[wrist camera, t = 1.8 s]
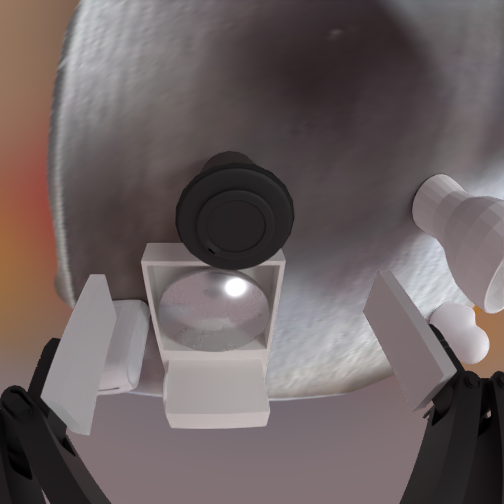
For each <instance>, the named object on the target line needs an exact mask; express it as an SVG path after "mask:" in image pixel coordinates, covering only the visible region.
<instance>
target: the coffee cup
mask: <svg viewBox="0 0 504 504" xmlns="http://www.w3.org/2000/svg"><path fill="white" fill-rule="evenodd" d="M293 222H294V208H293V200H292V198H291V196H290V194H289V192H288V190H287V188H286V186H285V185H284V184H283V183H282V182H281V181H280V180H279V179H278V178H277V177H276V176H275V175H274V174H273V173H272V172H270V171H268V170H265V169H263V168H261V167H259V166H257V165H256V164H254V163H253V162H252V161H251V160H250V159H249V158H248V157H247V156H245V155H243V154H241V153H239V152H231V151H228V152H223V153H219V154H217V155H216V156H214V157H212V158H211V159H210V160H209V161H208V162H207V163H206V165H205V166H204V168H203V170H202V171H201V173H200V174H199V175H197V176H195V178H194V179H193V180H192V181H191V182H190V183H189V184H188V185H187V186H186V188H185V189H184V190H183V192H182V194H181V196H180V199H179V201H178V204H177V206H176V227H177V231H178V234H179V237H180V240H181V241H182V243H183V244H184V245H185V247H186V248H187V249H188V251H189V252H190V253H191V254H192V255H194V256H195V257H197V258H198V259H199V260H201V261H202V262H204V263H206V264H208V265H210V266H212V267H216V268H219V269H225V270H242V269H247V268H251V267H255V266H257V265H259V264H262V263H263V262H265V261H267V260H269V259H270V258H271V257H272V256H274V255H275V254H276V253H277V252H278V251H279V250H280V249H281V248H282V247H283V245H284V243H285V242H286V240H287V239H288V237H289V235H290V234H291V230H292V226H293Z"/></svg>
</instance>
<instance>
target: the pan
mask: <svg viewBox="0 0 504 504" xmlns="http://www.w3.org/2000/svg"><path fill="white" fill-rule="evenodd" d="M158 313H159V320H160V323H161V325H162V327H163V329H164V330H165V332H166V333H167V334H168V335H169V336H170V337H171V338H172V339H174V340H175V341H176V342H178V343H180V344H182V345H183V346H186V347H188V348H191V349H194V350H199V351H205V352H223V351H229V350H234V349H237V348H240V347H242V346H245V345H247V344H248V343H250V342H252V341H253V340H254V339H256V338H257V337H258V336H259V335H260V334H261V333H262V332H263V330H264V329H265V327H266V325H267V323H268V319H269V306H268V301H267V297H266V294H265V292H264V290H263V289H262V287H261V286H260V285H259V284H258V283H257V282H256V281H255V280H254V279H253V278H251V277H250V276H248V275H246V274H245V273H243V272H240V271H238V270H225V269H219V268H216V267H212V266H209V267H200V268H195V269H192V270H189V271H186V272H184V273H182V274H180V275H179V276H177V277H176V278H174V279H173V280H172V281H171V282H170V283H169V284H168V285H167V286H166V288H165V289H164V291H163V293H162V295H161V299H160V304H159V312H158Z"/></svg>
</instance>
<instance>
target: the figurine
mask: <svg viewBox="0 0 504 504" xmlns="http://www.w3.org/2000/svg"><path fill="white" fill-rule="evenodd" d="M430 324H433V325H434V326H435V327H436V328H437V329H438V330H440V332H441V333H442V335H443V336H444V338H445V341H447V342H448V344H449V347H451V349H452V350H453V352H454V353H455V355H456V357H457V358H458V359H459V360H461V361H462V362H464V363H467V364H474V363H477V362H479V361H481V360H482V359H483V358H484V357H485V356H486V354H487V352H488V350H489V340H488V337H487V335H486V333H485V332H484V331H483V330H482V329H480V328H479V327H477V326H476V324H475V312H474V311H473V310H472V309H471V308H469V307H467V306H465V305H461V304H457V303H455V302H453V301H448V302H446V303H444V304H442V305H441V306H439V307H438V308H437V309H436V310H435V311H434V313H433V314H432V316H431V318H430Z"/></svg>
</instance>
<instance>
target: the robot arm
mask: <svg viewBox="0 0 504 504" xmlns="http://www.w3.org/2000/svg"><path fill="white" fill-rule="evenodd" d="M363 312H364V314H365V316H366V318H367V320H368V322H369V324H370V325H371V327H372V329H373V331H374V333H375V335H376V337H377V339H378V341H379V343H380V345H381V347H382V349H383V351H384V353H385V355H386V357H387V359H388V361H389V363H390V365H391V367H392V369H393V371H394V373H395V375H396V377H397V379H398V382H399V384H400V386H401V388H402V390H403V392H404V394H405V396H406V399H407V401H408V403H409V405H410V407H411V410H412V411H416V410H419V409H422V408H424V407H426V406H427V404H429V402H430V401H431V400H432V401H433V403H434V405H433V406H432V407H431V408H430V409H429V410H428V411H427V412H426V413H425V414H424V416H423V418H426V417H427V416H428V415H429V414H430V415H429V418H428V423H427V427H426V431H425V434H424V437H423V441H422V444H421V447H420V451H419V454H418V457H417V460H416V463H415V466H414V468H413V471H412V474H411V477H410V479H409V482H408V484H407V487H406V490H405V492H404V495H403V497H402V499H401V501H400V504H504V373H503V372H501V371H497V372H495V373H494V374H493V375H492V376H491V377H490V378H479V377H478V375H477V374H476V373H474V372H472V371H465V370H464V368H463V366H462V365H461V363H460V362H459V360H458V358H457V357H456V355H455V353H454V352H453V350H452V349H451V347H449V344H448V342H447V341H445V338H444V336H443V335H442V333H441V332H440V330H438V329H437V328H436V327H435V326H434V325H433V324H427V322H426V321H425V319H424V318H423V316H422V315H421V313H420V312H419V310H418V309H417V307H416V306H415V304H414V303H413V302H412V300H411V299H410V297H409V296H408V294H407V293H406V292H405V290H404V289H403V288H402V286H401V285H400V283H399V282H398V281H397V279H396V278H395V277H394V275H393V274H392V273H391V271H378V273H377V276H376V278H375V281H374V284H373V287H372V289H371V292H370V295H369V297H368V300H367V302H366V305H365V307H364V310H363ZM116 320H117V315H116V312H115V309H114V305H113V302H112V299H111V295H110V292H109V288H108V285H107V281H106V277H105V275H98V274H90V276H89V278H88V280H87V282H86V284H85V286H84V288H83V290H82V293H81V295H80V297H79V299H78V301H77V303H76V305H75V308H74V310H73V312H72V314H71V317H70V319H69V322H68V324H67V326H66V328H65V331H64V333H63V336H62V338H61V339H58V338H52V339H51V340H50V341H49V342H48V343H47V344H46V345H45V347H44V349H43V352H42V354H41V359H39V361H38V364H37V367H36V369H35V372H34V375H33V377H32V380H31V383H30V386H29V389H28V392H26V391H25V389H23V388H22V387H20V386H16V385H14V386H11V387H8V388H7V389H6V390H4V392H3V393H2V395H1V398H0V408H1V409H0V504H46V502H45V499H44V496H43V492H42V490H43V491H44V493H45V495H46V497H47V499H48V500H49V502H50V504H111V503H110V501H109V500H108V499H107V498H106V496H105V495H104V493H103V492H102V490H101V489H100V488H99V486H98V485H97V483H96V482H95V480H94V479H93V477H92V476H91V474H90V473H89V471H88V470H87V468H86V467H85V465H84V463H83V462H82V460H81V459H80V457H79V455H78V453H77V452H76V450H75V448H74V446H73V445H72V443H71V441H70V439H69V438H68V436H67V435H66V428H67V427H68V428H69V429H70V430H71V431H72V432H74V433H79V434H85V435H90V430H91V424H92V419H93V413H94V408H95V404H96V398H97V394H98V390H99V385H100V381H101V376H102V372H103V368H104V364H105V360H106V356H107V352H108V349H109V345H110V341H111V338H112V334H113V331H114V327H115V324H116ZM490 410H491V416H490V417H489V418H488V417H487V413H488V412H489V411H490ZM41 488H42V489H41Z"/></svg>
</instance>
